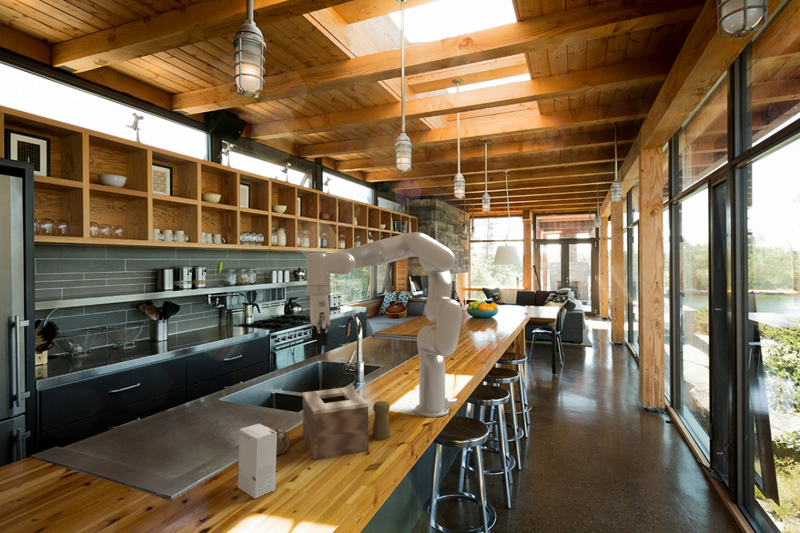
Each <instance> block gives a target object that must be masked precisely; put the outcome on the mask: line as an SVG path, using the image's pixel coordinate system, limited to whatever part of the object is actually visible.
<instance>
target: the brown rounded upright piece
mask: <svg viewBox="0 0 800 533" xmlns="http://www.w3.org/2000/svg"><path fill="white" fill-rule="evenodd" d="M372 409H373V412H374V420H373V427H372V433H371V434H372V435H371V438H372V439H373V440H375V441H386V440H389V439H391V438H390V437H392V432H391V425H390V419H389V412H390V404H389V402H387V401H385V400H378V401H375V402H374V404H373V406H372Z"/></svg>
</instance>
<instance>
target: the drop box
mask: <svg viewBox="0 0 800 533" xmlns="http://www.w3.org/2000/svg"><path fill="white" fill-rule="evenodd" d="M302 436H303V439H304V440H305V443H306V445H307V447H308V450H309V452H310V453H311V456H312V458H313V460H314V461H317V460H322V459H324V460H325V459H329V458H335V457H338V456H345V455H350V454H355V453H363V452H367V451H368V452H369V450H370V448H369V442H370V441H369V403H368V401H366V400H365V398H364V397H363V396H361V395H360V394H359V393H358V392H357V391H356V390H355V388H353V387H352V386H348V387H347V386H346V387H345V386H344V387H337V388H331V389H322V390H321V389H320V390H313V391H305V392H304V391H303V392H302Z"/></svg>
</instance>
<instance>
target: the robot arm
mask: <svg viewBox="0 0 800 533" xmlns="http://www.w3.org/2000/svg"><path fill="white" fill-rule="evenodd" d="M412 257H413V258H414V257H417V258H418V260H419V264H420V266H421V268H422V269H423V270H424V271H425V273H426V275H427V276H428V281H429V283H428V285H429V286H428V293H427V298H426V303H425V309H424V313H425V314H424V315H425V317H426V318H427V319H428V320H429V321H430V322H432V323H433V322H434V323H436V325H431V324H429V325H428V324H427V325H425V326H423V327H421V328H420V329H419V331H418V333H417V336H416V346H417V350H418V360H419V362H418V363H419V364H418V365H419V368H418V370H419V371H418V373H419V374H418V377H419V378H418V383H419V384H418V385H419V386H418V387H419V388H418V389H419V390H418V391H419V395H418V397H419V398H418V399H419V400H418V402H419V403H418V404H417V405H416V406H415V409H414V411H415V412H416V414H418V415H420V416H423V417H430V418H434V417H435V418H436V417H437V418H438V417H443V416H446V415H448V414H449V413H450V407H449V406H450V405H457V404H458V399H457V398H451V397H447V398H446V359H445V357H449V356H451V355H452V354H453V353H455V351H456V349H457V347H458V343H459V339H460V338H459V337H460V332H461V327H462V322H463V321H462V320H463V310H462V307H461V305H460V303H459V302H458V301H457V300H455V299H453V298H452V292H453V278H452V275H451V272H450V270H452V269H453V268H454V266H455V264H456V257H455V255H454V253H453V251H452V250H451V249H449V248H448V247H447V246H445V245H443V244H442V243H441V242H438V241H437V240H435V239H433V237H430V236H429V235H427V234H426V233H423V232H420V231H416V232H406V233H402V234H398V235H394V236H391V237H386V238H383V239H379V240H374V241H371V242H368V243H364V244H361V245H357V246H354V247H353V246H352V247H350V248H345V249H341V250H338V251H334V252H331V253H328V252H310V253H308V254H307V256H306V295H307V296H309V297H310V298H309V300H310V301H309V317H310V323H311V329H310V330H311V334H310V335H311V341H316V345H317V346H318V347H320V346H323V347H324V346H328V326H330V325H331V314H330V313H331V312H330V299H329V296H330V295H331V274H332V275H342V276H343V275H345V276H346V275H348V274H351V273H352V271H353V270H354V269H357V268H358V269H359V268H364V267H375V266H383V265H386V264H389V263H393V262H396V261H401V260H403V259H407V258H412ZM353 272H354V271H353Z"/></svg>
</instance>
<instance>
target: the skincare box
mask: <svg viewBox="0 0 800 533" xmlns="http://www.w3.org/2000/svg"><path fill="white" fill-rule="evenodd" d="M273 430H274V429H271V428H270V427H269V426H265V425H263V424H261V423H256V424H252V425H250V426H246V427H242V428H240V429H239V440H238V441H239V442H238V444H239V445H238V469H237V470H238V471H237V472H238V476H237V477H238V478H237V488H238V489H239V490H241V491H243V492H244V493H247V495H249V496H250V497H252V498H253V499H254V498H255V500H256V498H257V499H259V498H261V497H263V496H265V495H264V494H266V495H268V494H270V493H272V492H275V491H276V483H277V482H276V481H277V480H276V479H277V478H276V476H277V474H276V472H277V455H276V446H277V432H275V431H273ZM271 491H272V492H271ZM269 492H270V493H269ZM267 493H268V494H267ZM262 495H263V496H262ZM260 496H261V497H260ZM258 497H259V498H258Z"/></svg>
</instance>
